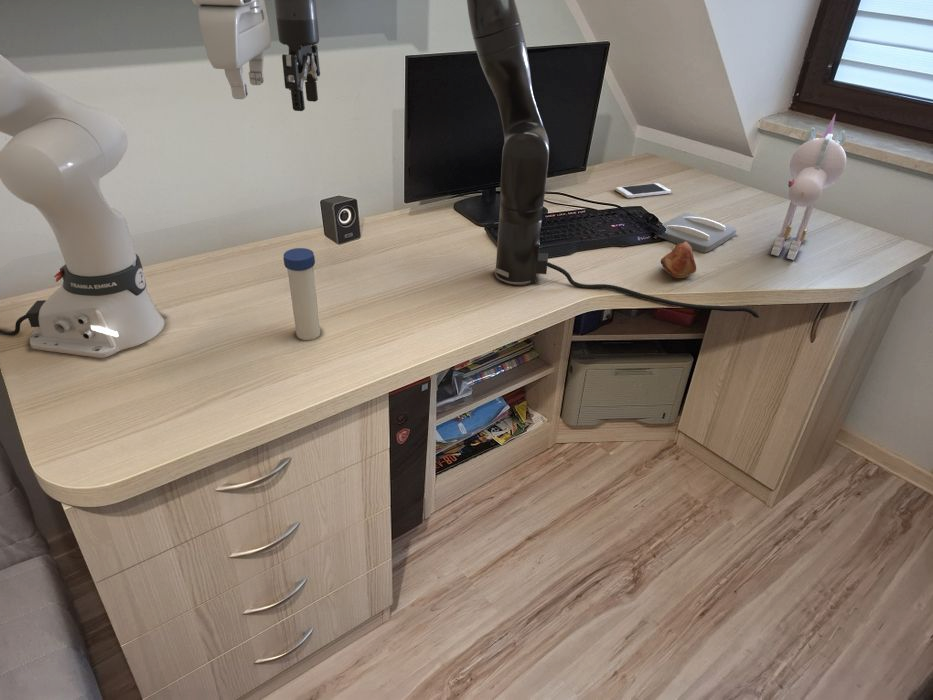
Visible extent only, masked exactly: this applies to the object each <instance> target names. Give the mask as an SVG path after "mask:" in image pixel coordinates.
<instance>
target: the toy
mask: <svg viewBox="0 0 933 700" xmlns="http://www.w3.org/2000/svg"><path fill="white" fill-rule="evenodd" d="M836 116H837V115H836V112H835V113H834V115H833V116H832V119H831V120H830V122H829V124H828V126H827V128H826V130H825V131H824V133H823V134H822V136H821V137H817V138H816V136H817V128H815V127H810V129H809V130H808V133H807V135H806V136H805V142H804V143H802V144H801V145H800V146H798V148H797V149H796V150H795V151H794V152H793V154H792V156H791V159H790V162H789V173H790V175H791V178H792V180H789V181H788V188H789V189H788V198H789V201H790V202H789V205H788V209H787V212H786V215H785V218H784V221H783V223H782V227H781V230H780V233H779V235H777V236H776V239H775V241H774V243H773V246H772V249H771V253H770V255H772V256H776V257H779V255H780V253H781V252H782V249H783V248H784V246H785V242H786V240H789V238H790V234H791V232H792V227H793V225H792V223H793V219H794V217H795V213H796V211H797V208H798V207H801V208H802V207H804V208H805V210H804V213H803V216H802V219H801V222H800V225H799V227H798V230H797V233H796V237H795V239H793V240H792V242H791V245H790V247H789V250H788V253H787V256H786V259H788V260H792V261H794V260H795V259H796V257H797V255H798V253H799V251H800V249H801V245H802V244H803V243H804V240H805V238H806V235H807V231H808V228H807V227H808V224H809V221H810V218H811V215H812V212H813V209H814V207H815V204H816V202H817V201H818V200H819V199H820V197H821V195H822V193H823V191H824V189H827V188H828V187H831V186H832V185H834V184H835V183H836V182H837V181H838V180H840V178H841V177H842V176H843V174H844V173H845V170H846V168H847V167H846V166H847V154H846V152H845V150H844V148H843V145H844V143H845V141H846V140H847V134H846V131H845V130H840V131H839V132H838V133H837V135H836V137H835V139H833V129H834V125H835V120H836ZM841 135H842V138H841V141H840V137H841Z"/></svg>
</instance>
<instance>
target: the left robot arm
mask: <svg viewBox="0 0 933 700" xmlns="http://www.w3.org/2000/svg"><path fill="white" fill-rule="evenodd" d="M191 2H192V3H193V4H194V5H197V6H199V7H198V9H197V10H198V11H197V12H198V13H197V14H198V20H199V26H200V31H201V35H202V40H203V44H204V48H205V49H204V50H205V53H206V56H207V59H208V61H209V63H210V65H211V66H212V68H213V69H214V70H215V69H216V70H224V75H225V77H226V80H227V81H228V83H229V86H230V90H231V95H232V98H233V99H235V100H245V98H247V97H248V94H249V93H248V87H247V86H248V85H247V83H245V81H244V76H243V73H244V70H243V69H244V68H243V66H244V65H246V64H247V63H248V66H249V67H248V69H249V72H248V77H249V84H250V85H251V86H261V85H262V84H264V82H265V79H264V72H263V71H264V52H265V51H266V50H267V49H269V48H270V47H271V44H272V36H271V28H270V22H269V16H268V10H267V6H266V0H191ZM0 133H3V134H4V135H8V136H10V137H11V139H10V140H9V141H8V142H7V143H6V144H5V145H4V146H3V147H2V149H1V150H0V181H1V182H2V184H3V186H4V187H5V188H6V189H7V191H9V192H10V193H11V194H12V195H13V196H15V197H16V198H17V199H19V200H21V201H23V202H24V203H27V204H29V205H32V206H34V207H35V208H36V209H37V210H38V211H39V213H40V214H41V215H42V217H43V218H44V219H45V220H46V222H47V223H48V225H49V226H50V229H51V230H52V232H53V235H54V236H55V239H56V242H57V244H58V247H59V249H60V252H61V255H62V258H63V260H64V265H63V266H61V267H60V268H59V271H58V272H57V273H56V274H54V276H53V278H55V282H56V283H58V282H59V281H60V280H61V279H62V280H63V281H62V285H61V286H60V287H59V288H58V289H56V290H55V291H54V292H53V293H52V294H50V296H49V297H48V298H47V299H44V300H41V299H40V300H36V301H35V303H33V304H32V306H31V307H30V308H29V309H28V310H27V312H26V313H25V314H24V315H22V316H20V317H19V318H18V319H17V320H16V322H15V325H14V330H12V331H6V330H3V329H0V334H1V335H4V336H16V335H18V334H19V333H20V331H21V324H22V323H23V322H24V321H25V320H28V322H29V324H30V327H31V328H35V329H34V330H33V332H32V333H31V335H30V337H29V344H30V348H31V349H32V350H39V351H45V352H46V351H47V352H53V353H54V352H55V353H60V354H69V355H75V356H76V355H77V356H83V357H89V358H98V359H104V358H107V357H111V356H113V355H114V354H117V353H118V352H120V351H123V350H126V349H130V348H134V347H137V346H140V345H142V344H144V343H146V342H149V341H151V340H152V339H154V338H155V337H156V336H158V335H159V334H160V333H161V332H162V331H163V329H164V327H165V319H164V317H163V316H162V315H161V313H160V312H159V310H158V309H157V307H156V305H155V303H154V301H153V299H152V297H151V294H150V292H149V290H148V287H147V281H146V280H147V279H146V275H145V272H144V268H143V265H142V262H141V259H140V256H139V255H138V254H137V253H136V250H135V247H134V242H133V238H132V236H131V232H130V228H129V225H128V222H127V219H126V217H125V216H124V214H123V213H122V212H121V211H120V210H118V209H116V208H114V207H112V206H111V205H110V204H109V203H108V201H107V200H106V198H105V196H104V195H103V193H102V190H101V187H100V180H101V179H102V178H103V177H104V176H106V175H108V174H109V173H110V172H112V171H113V170H115V168H117V166H118V165H119V164H120V162H121V161H122V159H123V157H124V155H125V154H126V152H127V149H128V137H127V133H126V130H125V128H124V127H123V125H122V123H121V122H120V121H119V120H118V119H117V118H116V116H114V115H113V114H111V113H110V112H108V110H107V111H106V110H104V109H102V108H98V107H95V106H91V105H87V104H84V103H81V102H79V101H77V100H75V99H74V98H71V97H69V96H67V95H65V94H64V93H62V92H60V91H58V90H56V89H54V88H52V87H50V86H48V85H46V84H44V83H43V82H41V81H39V80H37V79H36V78H34V77H32V76H31V75H29V74H28V73H26V72H24V71H23V70H22V69H20V68H18V67H17V66H16V65H15V64H13V63H12V62H11V61H9V60H8V59H7V58H6V57H4V56H3V55H2V54H0Z"/></svg>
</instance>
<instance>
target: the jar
mask: <svg viewBox="0 0 933 700" xmlns="http://www.w3.org/2000/svg"><path fill="white" fill-rule="evenodd" d="M287 277H288V283H289V291H290V297H291V298H290V299H291V303H292V304H291V305H292V312H293V313H292V314H293V320H294V327H295V333H296V334H295V335H296V337H297V338H298V339H299V340H303V341H312V340H315V339H317V338H319V337H320V335H321V325H320V316H319V307H318V299H317V298H318V297H317V290H316V281H315V272H314V266H313V267H311V268H309V269H306V270H301V271H294V270H290V269H287Z"/></svg>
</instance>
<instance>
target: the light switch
mask: <svg viewBox="0 0 933 700" xmlns="http://www.w3.org/2000/svg"><path fill="white" fill-rule="evenodd" d="M661 224H662V225H663V226H664V227H665V228H666V231H665V234H667V235H668V237H665V236H662V235H658V236H657V235H654V236H655V237H657V238H659V239H663V240H665V241H669V242H671V243H674V244H676V245H678V244H681V243H684V242H685V241H687V242H688V243H689V245H690V246H691V248H692V250H694V251H697V252H699V253H709V252H711V251H712V250H714V249H716V248H717V247H719V246H720V245H722V244H724V243H725V242H727V241H730V239H732V238H734V237H736V234H737V228H736V227H734V226H732V225H729V224H725V223H722V222H719V221H716V220H713V219H710V218H707V217H703V216H700V215H697V214H694V213H690V212H683V213H682V214H679V215H677V216H675V217H673V218H671V219H669V220H668V221H666V222H663V223H661Z"/></svg>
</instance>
